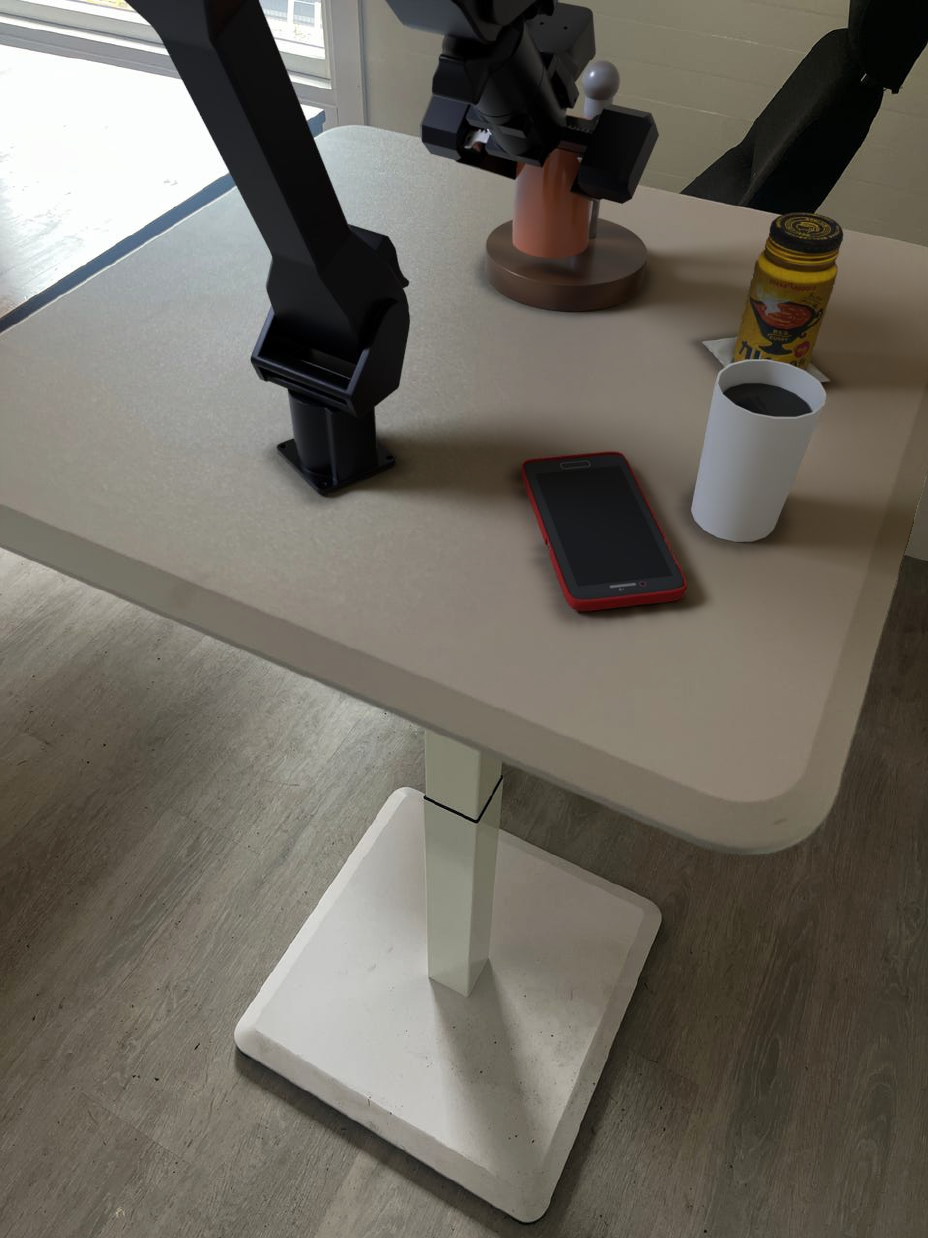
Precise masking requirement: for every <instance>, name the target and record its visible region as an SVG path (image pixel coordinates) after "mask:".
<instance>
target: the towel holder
mask: <svg viewBox="0 0 928 1238" xmlns="http://www.w3.org/2000/svg"><path fill="white" fill-rule="evenodd" d="M583 72H584V73H583V74H582V75H583V76H582V78H581V86H582V91H583V94H584V105H583V112H582V113H583V114H582V117H584V118H588V119H590V120H591V119H593V118H594V117H595V116H596V115H598V114H601V113H602V110H603V108H605V107H607V106H608V105H610V104H613V103H614V97H615V96H616V95H617V93H618V92H619V89H620V85H621V76H620V75H621V74H620V71H619V70H618V68H617V67H616V65H615V64H614V63H613V62H611V61H610V60H606V59H599V60H596V61H593V62H592V63H590V64H589V65H588V66H587V67H586V68H585V70H584V71H583ZM613 105H614V104H613ZM600 207H601V200H599V201H598V202H593V206H592V214H591V222H590V230H589V239H588V245H587V248H586V249H585V250H584V251H583V252H581V253H580V254H577V255H575V256H571V257H566V258H541V257H536V256H532V255H529V254H526V253H524V252H522V251H520V250H518V249H517V248H516V247H515V246H514V245H513V243H512V226H513V219H510V220H508V221H505V222H503V223H502V224H499V225H498V226H496V228H494V229H493V230H492V231H491V232H490V233H489V234H488V236H487V238H486V241H485V253H484V274H485V277H486V280H487V281H488V282H489V284H490V285H491V286H492V287H493V288H494V289H495V290H496V291H498V292H499V293H500V294H502V295H503V296H505V297H506V298H508V299H511V300H513V301H514V302H515V301H516V302H518V303H520V304H523V305H527V306H529V307H534V308H538V309H543V310H549V311H559V312H588V311H596V310H602V309H607V308H611V307H613V306H618V305H619V304H622V303H625V302H626V301H628V300H629V299H631V298H632V297H634V296H636V295H637V294H638V292H639V291H640V289H642V286H643V284H644V278H645V272H646V266H647V260H648V249H647V246H646V244H645V242H644V241H643V240H642V239H641V237H639V236H638V235H637V234H636V233H635V232H634V231H632V230H630V229H628V228H627V227H625V226H623V225H621V224H619V223H616V222H613V221H611V220H608V219H604V218H601V217H599V215H600Z"/></svg>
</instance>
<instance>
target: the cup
mask: <svg viewBox="0 0 928 1238" xmlns="http://www.w3.org/2000/svg"><path fill="white" fill-rule="evenodd" d="M566 115H569V116H573V117H578V118H582V119H586V120H590V119H588V118H584V117H583V116H580V115H576V114H571V113H566ZM576 130H577V129H576ZM590 133H591V132H590ZM578 155H579V154H576V153H572V152H568V151H564V150H560V149H555V150H554V151H553V152H552V153H550V156H549V157H548V158H547V159H546V161H545V163H544V166H543V168H541V167H537V166H533V165H529V164H525V163H521V162H517V161H516V177H515V180H514V196H513V209H512V210H513V212H512V220H513V226H512V243H513V245H514V246H515V247H516V248H517V249H518V250H520V251H522V252H524V253H526V254H529V255H532V256H536V257H541V258H566V257H571V256H575V255H577V254H580V253H581V252H583V251H584V250H585V249H586V248H587V245H588V239H589V230H590V222H591V214H592V206H593V201H591V200H588V199H586V198H583V197H581V196H578V195H576V194H573V193H571V192H570V189H571V187H572V184H573V182H574V180H575V177H576V175H577V173H578V170H579V166H580V163H579V161H578V159H577V157H578Z"/></svg>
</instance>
